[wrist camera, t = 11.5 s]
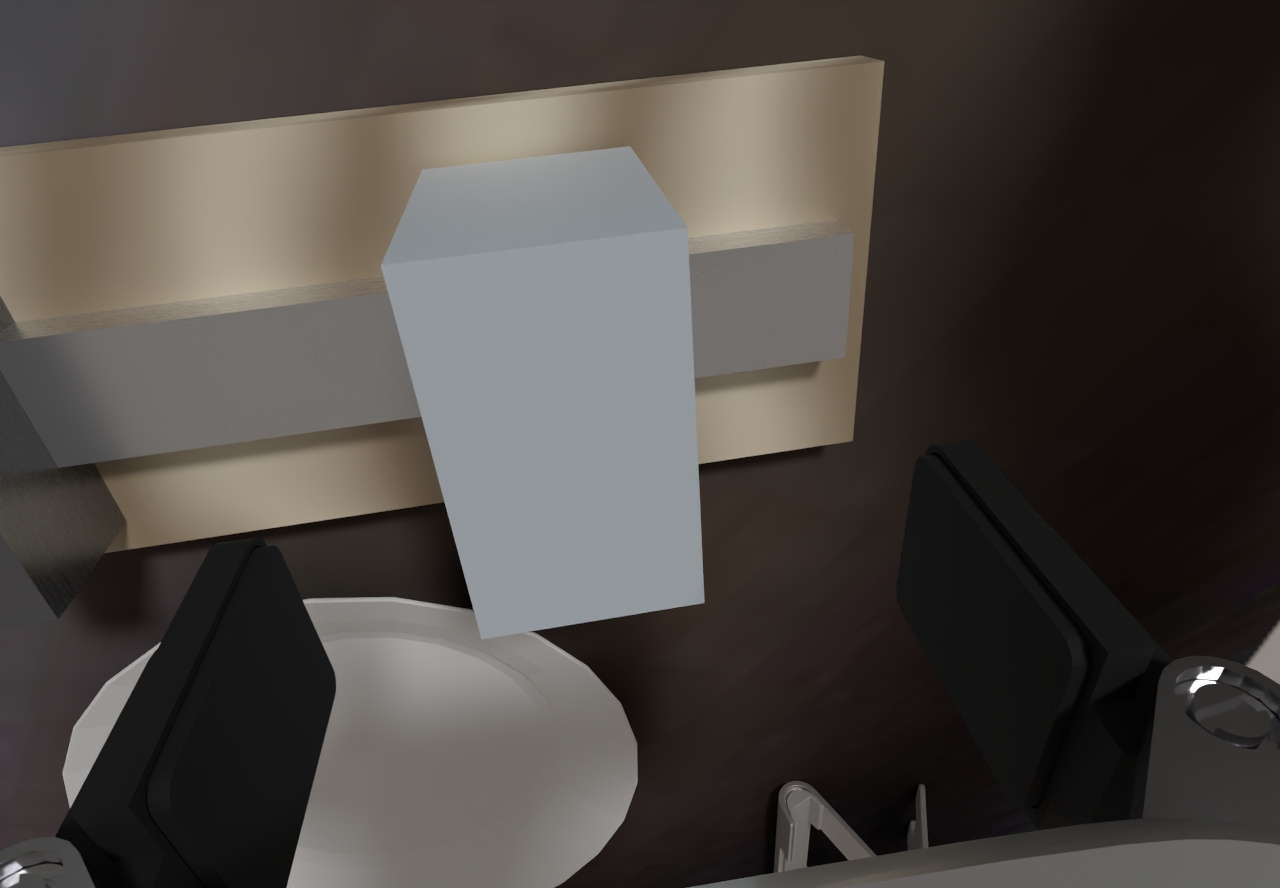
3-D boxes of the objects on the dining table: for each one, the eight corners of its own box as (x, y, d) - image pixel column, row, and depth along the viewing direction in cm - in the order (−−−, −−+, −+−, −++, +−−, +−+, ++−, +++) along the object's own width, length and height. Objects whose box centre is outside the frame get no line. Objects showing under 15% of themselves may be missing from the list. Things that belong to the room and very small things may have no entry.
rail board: (860, 55, 20) (884, 61, 19) (835, 417, 26) (852, 440, 24) (-215, 170, 18) (-270, 185, 16) (27, 536, 24) (-1, 568, 22)
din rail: (842, 109, 19) (914, 138, 16) (824, 418, 24) (876, 491, 20) (-190, 226, 17) (-361, 288, 14) (18, 537, 22) (-72, 639, 19)
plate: (97, 500, 24) (62, 546, 22) (706, 608, 30) (719, 651, 28) (86, 879, 33) (60, 934, 31) (551, 900, 39) (553, 947, 37)
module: (630, 145, 18) (687, 227, 13) (654, 446, 23) (704, 609, 17) (422, 169, 18) (380, 264, 12) (489, 471, 23) (483, 645, 17)
